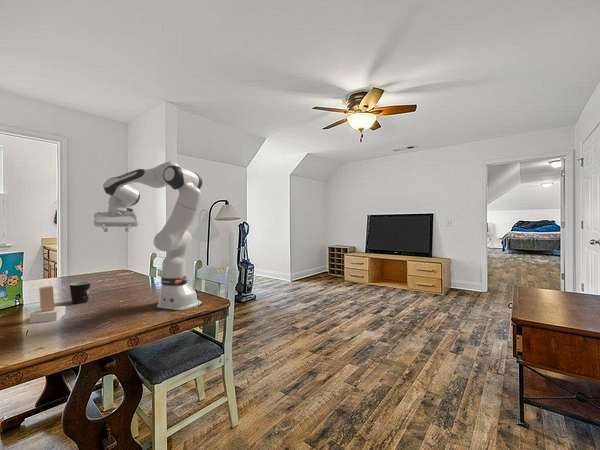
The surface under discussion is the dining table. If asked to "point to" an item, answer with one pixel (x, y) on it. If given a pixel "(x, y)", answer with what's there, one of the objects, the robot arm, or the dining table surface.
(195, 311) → the dining table surface
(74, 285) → the coffee mug
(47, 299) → the tan rectangular block
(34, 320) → the cream block
